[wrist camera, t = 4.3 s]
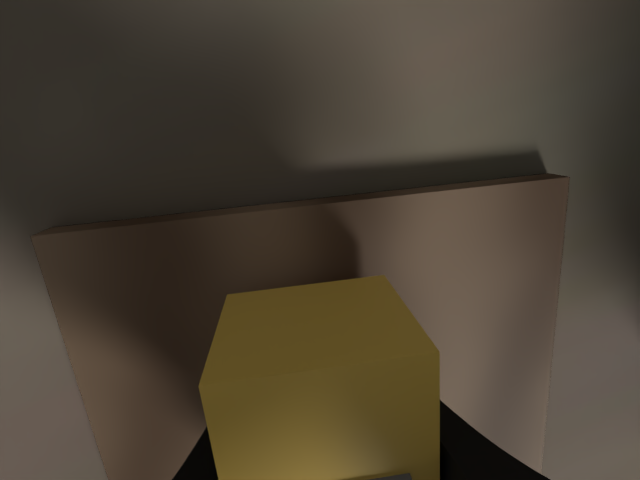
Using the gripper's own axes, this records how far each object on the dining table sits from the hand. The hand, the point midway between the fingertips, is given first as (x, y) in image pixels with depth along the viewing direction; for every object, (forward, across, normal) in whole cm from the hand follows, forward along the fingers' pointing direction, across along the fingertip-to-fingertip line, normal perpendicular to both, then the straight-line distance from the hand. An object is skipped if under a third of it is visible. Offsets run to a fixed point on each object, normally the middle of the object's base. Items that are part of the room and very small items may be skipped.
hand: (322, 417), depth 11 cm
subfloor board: (+3, 0, +6) cm, 7 cm away
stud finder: (+1, 0, 0) cm, 1 cm away
